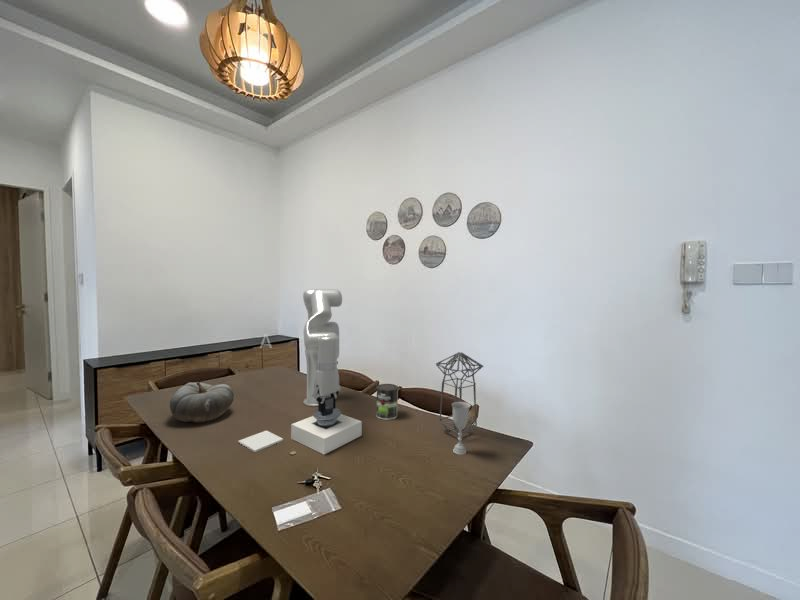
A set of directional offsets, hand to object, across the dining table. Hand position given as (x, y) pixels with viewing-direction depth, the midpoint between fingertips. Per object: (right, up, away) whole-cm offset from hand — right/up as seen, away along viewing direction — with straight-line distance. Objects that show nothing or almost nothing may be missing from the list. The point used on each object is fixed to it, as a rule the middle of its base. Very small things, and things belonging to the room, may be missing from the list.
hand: (327, 409), depth 137 cm
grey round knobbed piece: (0, -8, +1) cm, 8 cm away
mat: (-25, -11, -5) cm, 28 cm away
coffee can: (+24, -11, +24) cm, 35 cm away
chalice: (+53, -13, -9) cm, 55 cm away
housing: (0, -12, 0) cm, 12 cm away
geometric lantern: (+55, -12, +7) cm, 56 cm away
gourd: (-61, -10, +19) cm, 65 cm away
